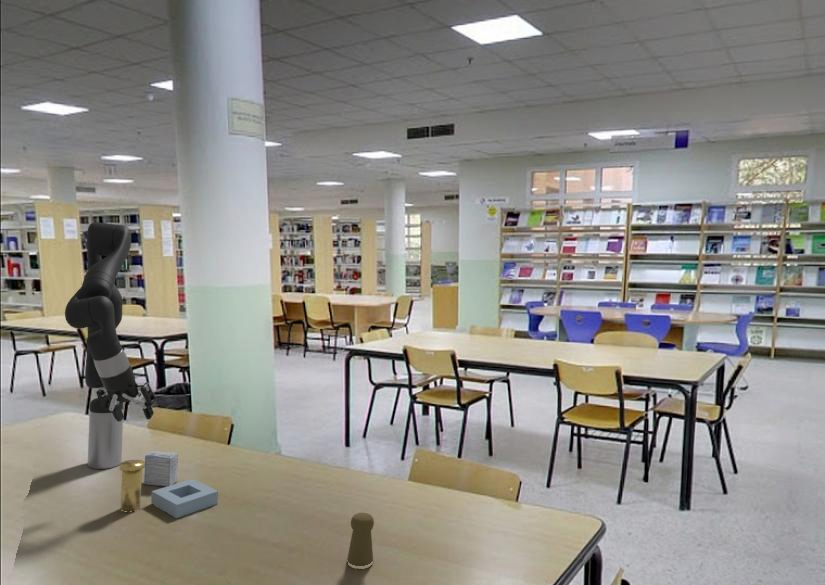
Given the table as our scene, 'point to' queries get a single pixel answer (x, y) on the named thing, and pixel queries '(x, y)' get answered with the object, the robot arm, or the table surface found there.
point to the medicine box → (161, 468)
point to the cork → (361, 540)
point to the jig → (184, 498)
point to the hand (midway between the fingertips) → (135, 418)
